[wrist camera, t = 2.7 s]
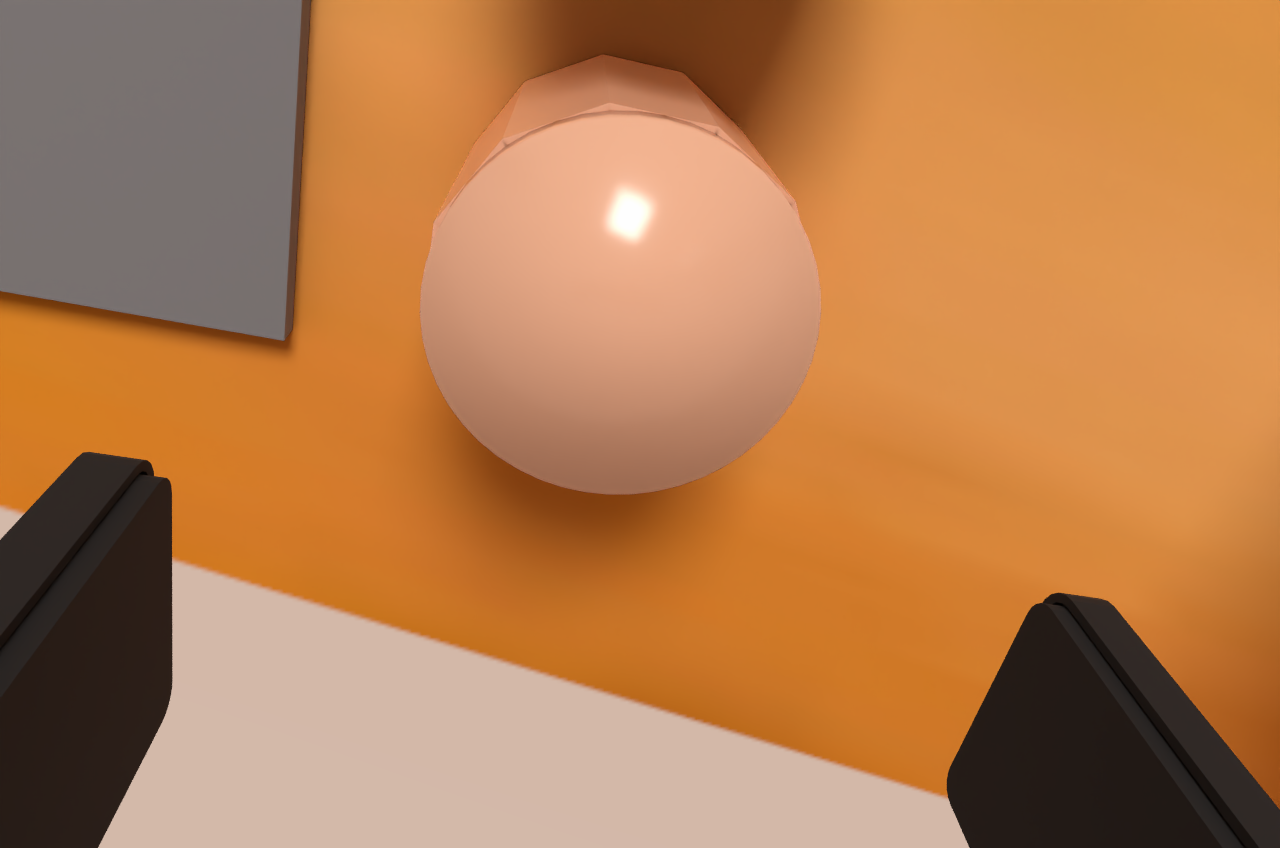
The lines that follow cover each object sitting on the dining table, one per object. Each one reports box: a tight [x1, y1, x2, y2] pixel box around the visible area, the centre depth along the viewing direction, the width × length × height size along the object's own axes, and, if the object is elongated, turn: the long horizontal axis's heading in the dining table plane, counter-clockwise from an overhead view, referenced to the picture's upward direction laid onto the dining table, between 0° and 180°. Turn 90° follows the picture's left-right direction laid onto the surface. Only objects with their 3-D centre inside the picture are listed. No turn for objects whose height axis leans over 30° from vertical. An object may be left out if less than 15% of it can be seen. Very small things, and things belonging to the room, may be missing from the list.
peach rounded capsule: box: [420, 54, 821, 495], centre depth 21 cm, size 8×8×8 cm
